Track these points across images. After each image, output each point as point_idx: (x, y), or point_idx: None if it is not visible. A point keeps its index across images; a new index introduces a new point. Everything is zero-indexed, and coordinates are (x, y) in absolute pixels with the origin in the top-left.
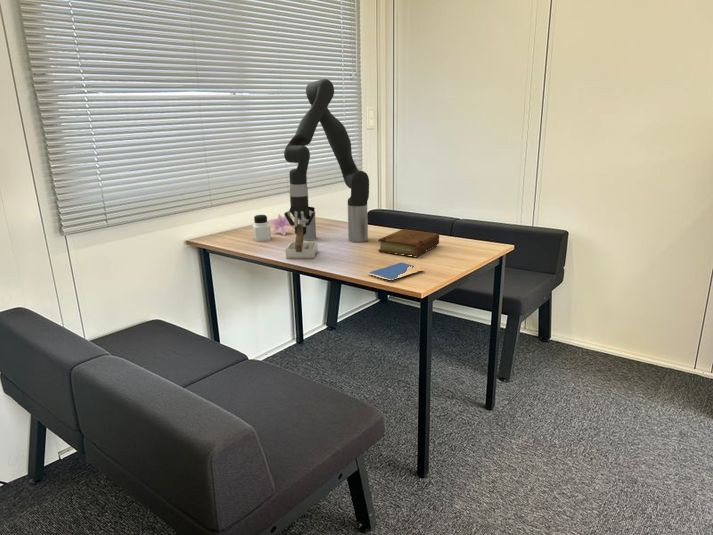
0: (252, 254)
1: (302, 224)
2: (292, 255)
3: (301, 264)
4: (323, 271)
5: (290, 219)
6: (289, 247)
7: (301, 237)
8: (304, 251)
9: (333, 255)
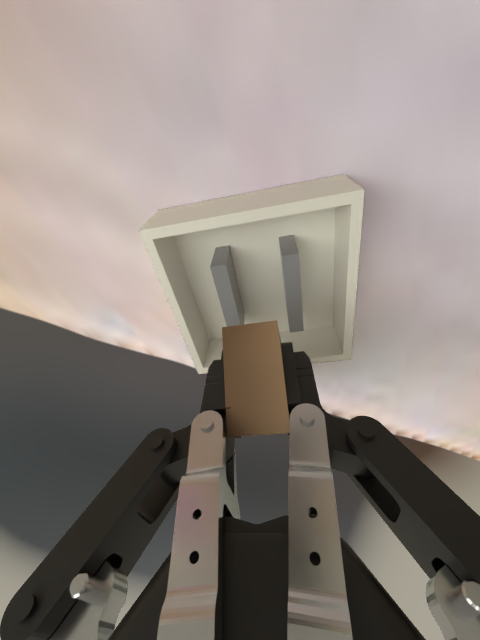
0: (12, 304)
1: (280, 433)
2: None
3: None
4: None
5: (155, 526)
6: (184, 306)
7: None
8: None
9: (450, 263)
